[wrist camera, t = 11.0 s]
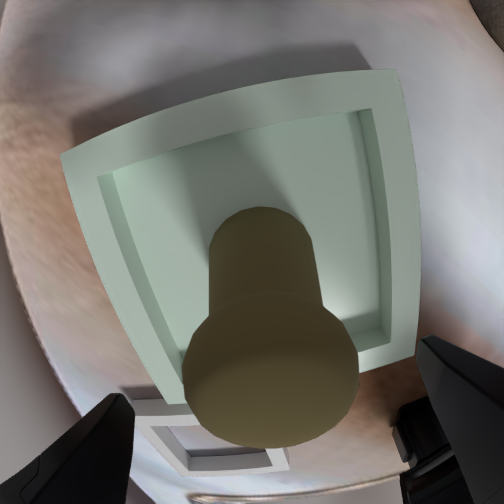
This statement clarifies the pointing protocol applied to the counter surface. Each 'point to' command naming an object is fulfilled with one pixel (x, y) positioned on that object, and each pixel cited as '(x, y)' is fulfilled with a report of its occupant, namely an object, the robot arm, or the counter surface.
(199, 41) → the counter surface
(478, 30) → the counter surface
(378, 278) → the tray
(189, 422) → the collar block
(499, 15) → the pillar candle
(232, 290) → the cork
